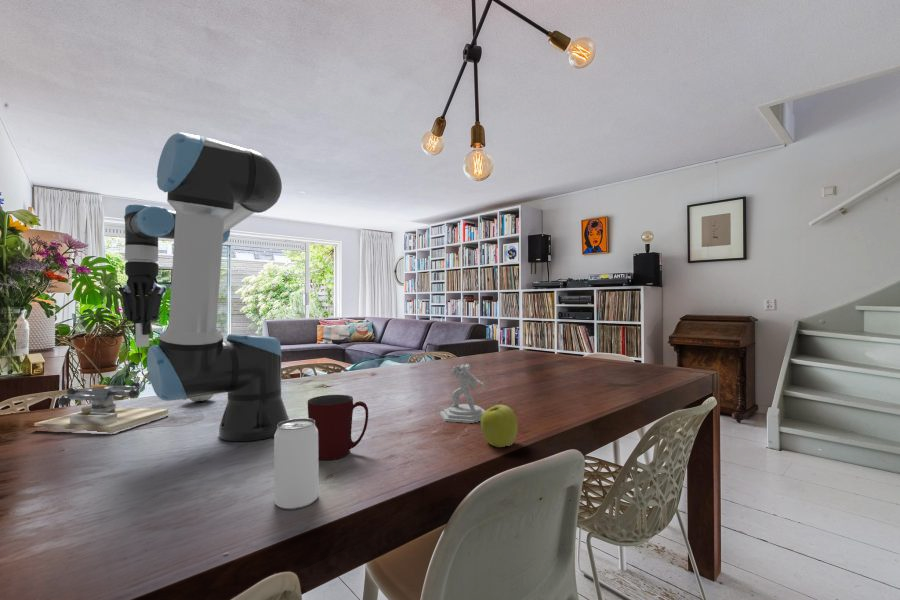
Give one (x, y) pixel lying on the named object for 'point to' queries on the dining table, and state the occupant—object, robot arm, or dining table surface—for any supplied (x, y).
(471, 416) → the figurine
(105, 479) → the dining table surface
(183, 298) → the robot arm
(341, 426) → the mug
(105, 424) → the stand
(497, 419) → the apple
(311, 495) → the can
